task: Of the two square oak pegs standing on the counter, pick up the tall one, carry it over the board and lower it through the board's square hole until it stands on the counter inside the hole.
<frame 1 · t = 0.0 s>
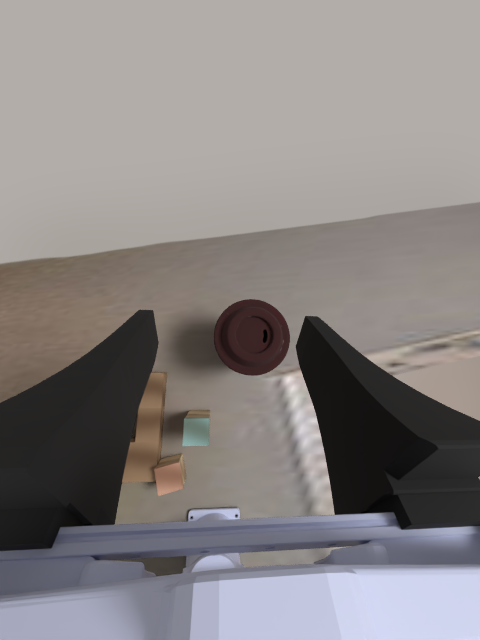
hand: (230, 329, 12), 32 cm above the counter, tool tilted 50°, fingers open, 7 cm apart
long pin: (199, 421, 41), on the counter
tan cubic piece: (173, 467, 39), on the counter
coffee cup: (241, 345, 44), on the counter
hole board: (125, 421, 39), on the counter
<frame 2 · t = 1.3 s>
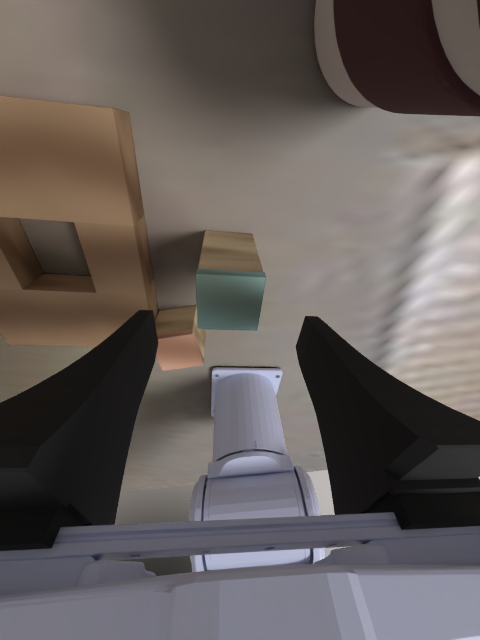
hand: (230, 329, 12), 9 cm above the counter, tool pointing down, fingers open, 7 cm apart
long pin: (227, 254, 19), on the counter
tan cubic piece: (183, 322, 23), on the counter
coffee cup: (383, 11, 12), on the counter
hole board: (65, 244, 18), on the counter
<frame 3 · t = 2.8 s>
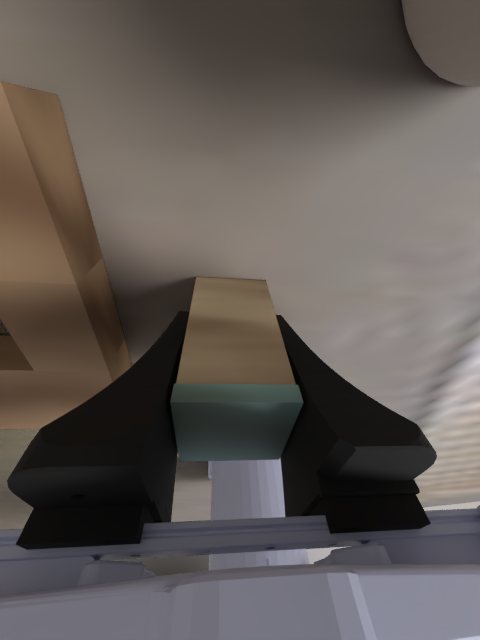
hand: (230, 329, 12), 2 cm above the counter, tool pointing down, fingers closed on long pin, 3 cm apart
long pin: (229, 307, 13), on the counter, touching gripper
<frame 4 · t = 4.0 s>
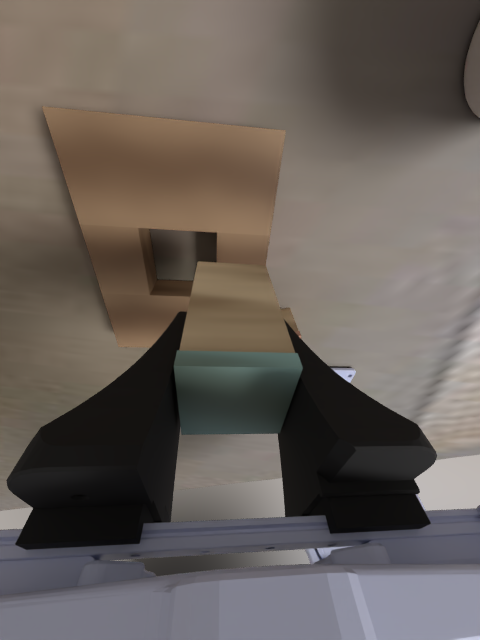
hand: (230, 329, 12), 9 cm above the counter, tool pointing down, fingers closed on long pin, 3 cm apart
long pin: (230, 292, 13), point 7 cm above the counter, touching gripper
tan cubic piece: (272, 324, 24), on the counter
hole board: (185, 252, 19), on the counter
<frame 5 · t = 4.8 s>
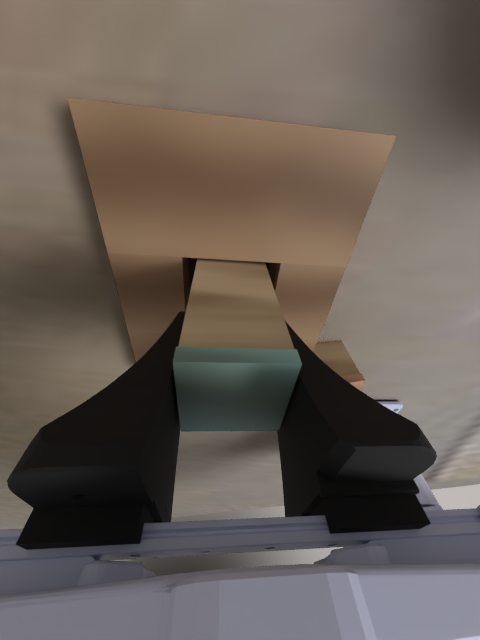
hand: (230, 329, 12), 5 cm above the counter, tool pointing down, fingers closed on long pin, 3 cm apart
long pin: (229, 290, 13), point 2 cm above the counter, touching gripper
tan cubic piece: (318, 357, 21), on the counter
hole board: (228, 280, 16), on the counter
when the fingers open (3 cm above the counter, at t = 5.5 s): long pin stays where it is, resting in hole board.
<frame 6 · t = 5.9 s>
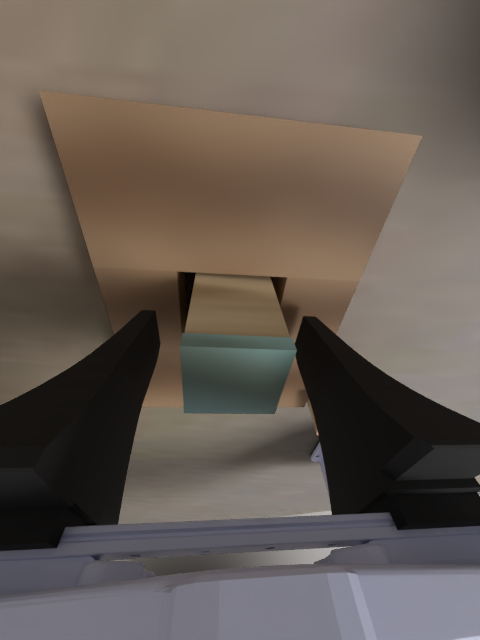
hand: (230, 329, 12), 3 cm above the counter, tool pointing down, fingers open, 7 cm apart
long pin: (229, 284, 14), resting in hole board
hole board: (228, 293, 14), on the counter
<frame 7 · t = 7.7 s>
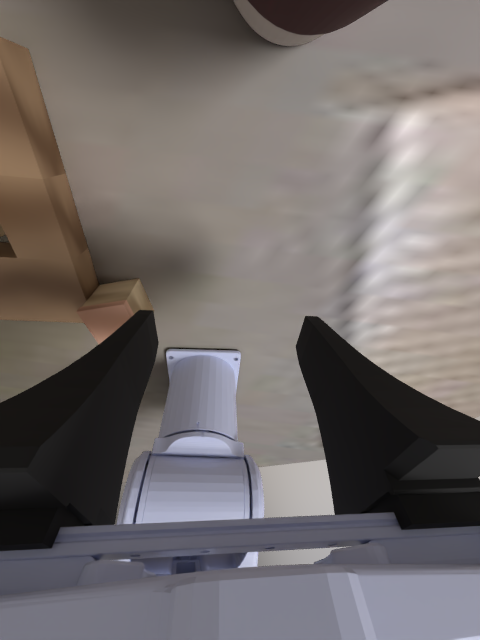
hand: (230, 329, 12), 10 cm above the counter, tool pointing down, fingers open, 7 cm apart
tan cubic piece: (128, 298, 22), on the counter
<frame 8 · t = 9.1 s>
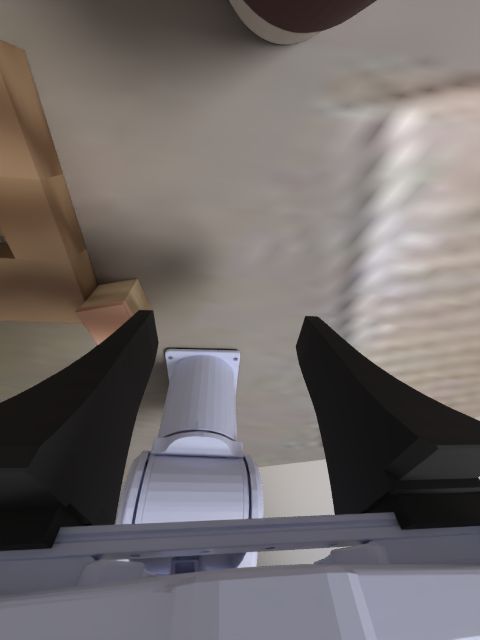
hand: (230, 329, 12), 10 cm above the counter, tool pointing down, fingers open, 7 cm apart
tan cubic piece: (127, 298, 22), on the counter
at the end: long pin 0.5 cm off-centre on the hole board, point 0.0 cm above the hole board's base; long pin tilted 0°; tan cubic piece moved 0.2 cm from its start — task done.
